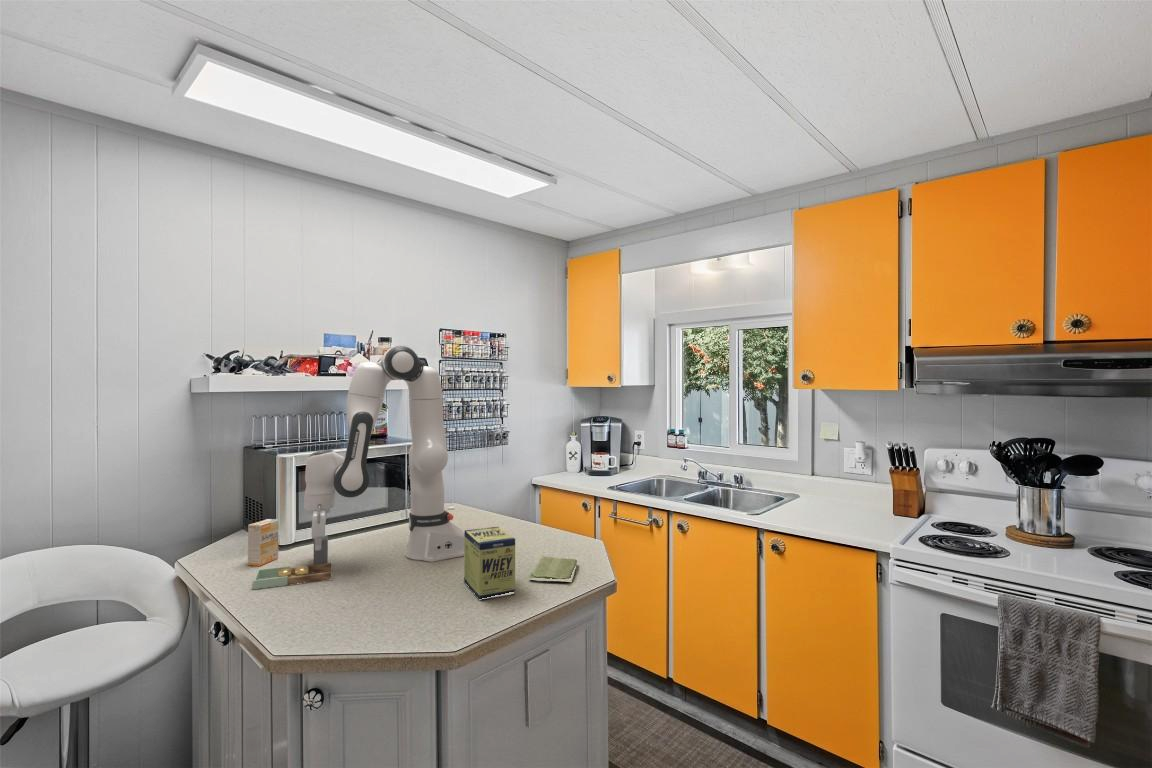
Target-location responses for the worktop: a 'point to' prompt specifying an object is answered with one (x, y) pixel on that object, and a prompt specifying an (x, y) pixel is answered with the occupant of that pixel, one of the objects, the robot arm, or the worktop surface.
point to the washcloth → (554, 568)
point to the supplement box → (263, 542)
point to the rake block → (321, 552)
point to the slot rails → (311, 576)
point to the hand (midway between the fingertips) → (318, 545)
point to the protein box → (489, 561)
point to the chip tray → (270, 581)
